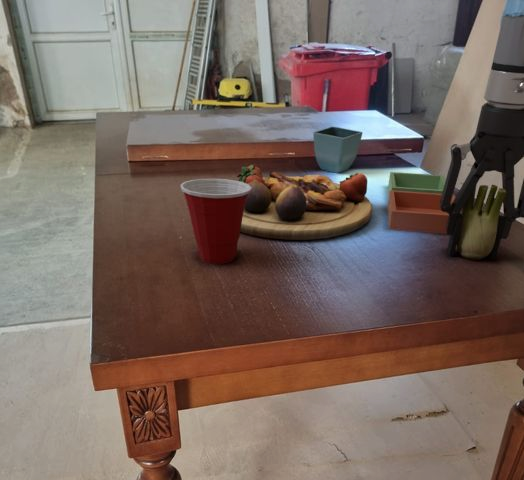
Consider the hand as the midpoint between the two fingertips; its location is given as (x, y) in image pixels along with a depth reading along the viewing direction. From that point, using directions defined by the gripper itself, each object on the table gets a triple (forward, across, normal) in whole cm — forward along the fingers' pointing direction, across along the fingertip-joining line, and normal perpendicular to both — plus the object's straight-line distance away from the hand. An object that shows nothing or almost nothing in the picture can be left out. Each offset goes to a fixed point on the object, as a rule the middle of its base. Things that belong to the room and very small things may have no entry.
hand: (470, 253), depth 88 cm
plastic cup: (+1, -41, -9) cm, 42 cm away
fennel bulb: (+1, 0, 0) cm, 1 cm away
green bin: (0, -7, +30) cm, 30 cm away
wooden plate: (+1, -32, +15) cm, 36 cm away
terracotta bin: (0, -7, +16) cm, 17 cm away
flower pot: (+1, -25, +47) cm, 53 cm away
